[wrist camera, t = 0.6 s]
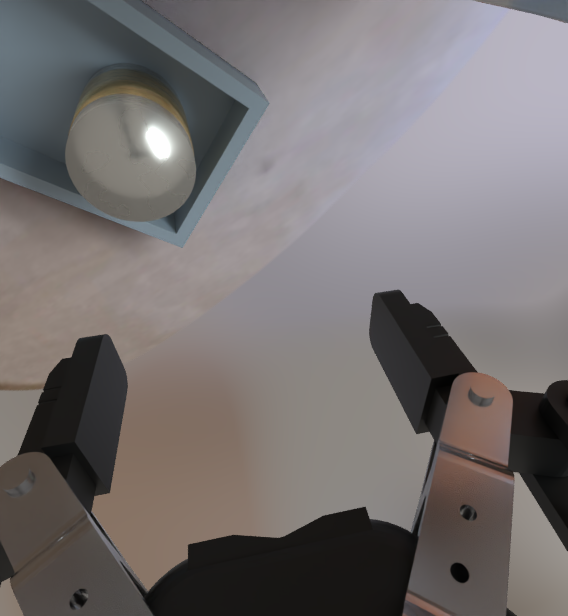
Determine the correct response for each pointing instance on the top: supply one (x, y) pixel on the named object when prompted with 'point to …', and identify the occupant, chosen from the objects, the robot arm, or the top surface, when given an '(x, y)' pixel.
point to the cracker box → (536, 7)
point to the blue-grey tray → (83, 65)
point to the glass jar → (131, 145)
